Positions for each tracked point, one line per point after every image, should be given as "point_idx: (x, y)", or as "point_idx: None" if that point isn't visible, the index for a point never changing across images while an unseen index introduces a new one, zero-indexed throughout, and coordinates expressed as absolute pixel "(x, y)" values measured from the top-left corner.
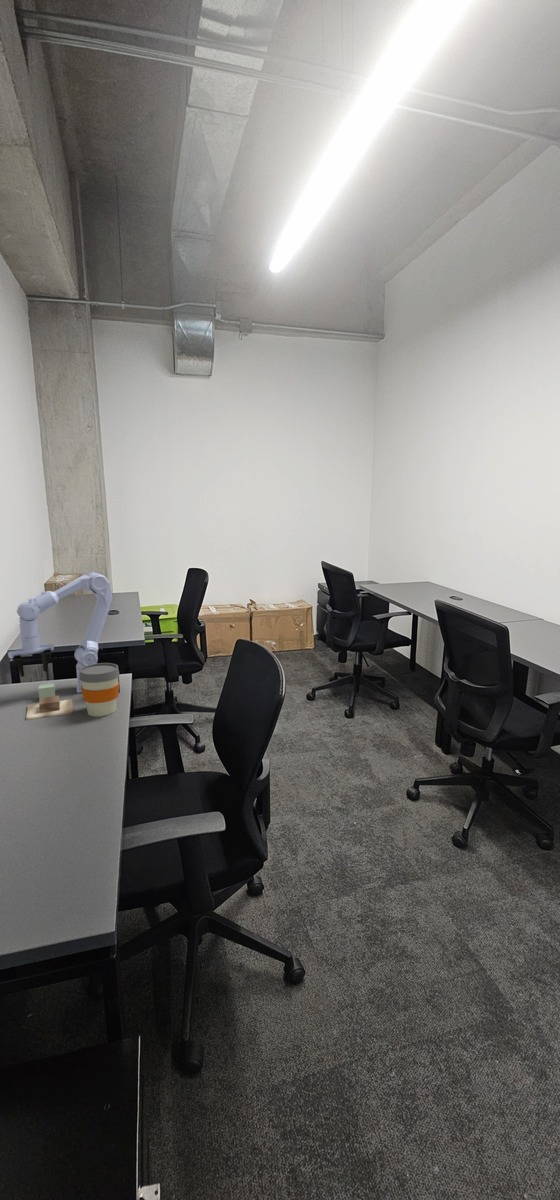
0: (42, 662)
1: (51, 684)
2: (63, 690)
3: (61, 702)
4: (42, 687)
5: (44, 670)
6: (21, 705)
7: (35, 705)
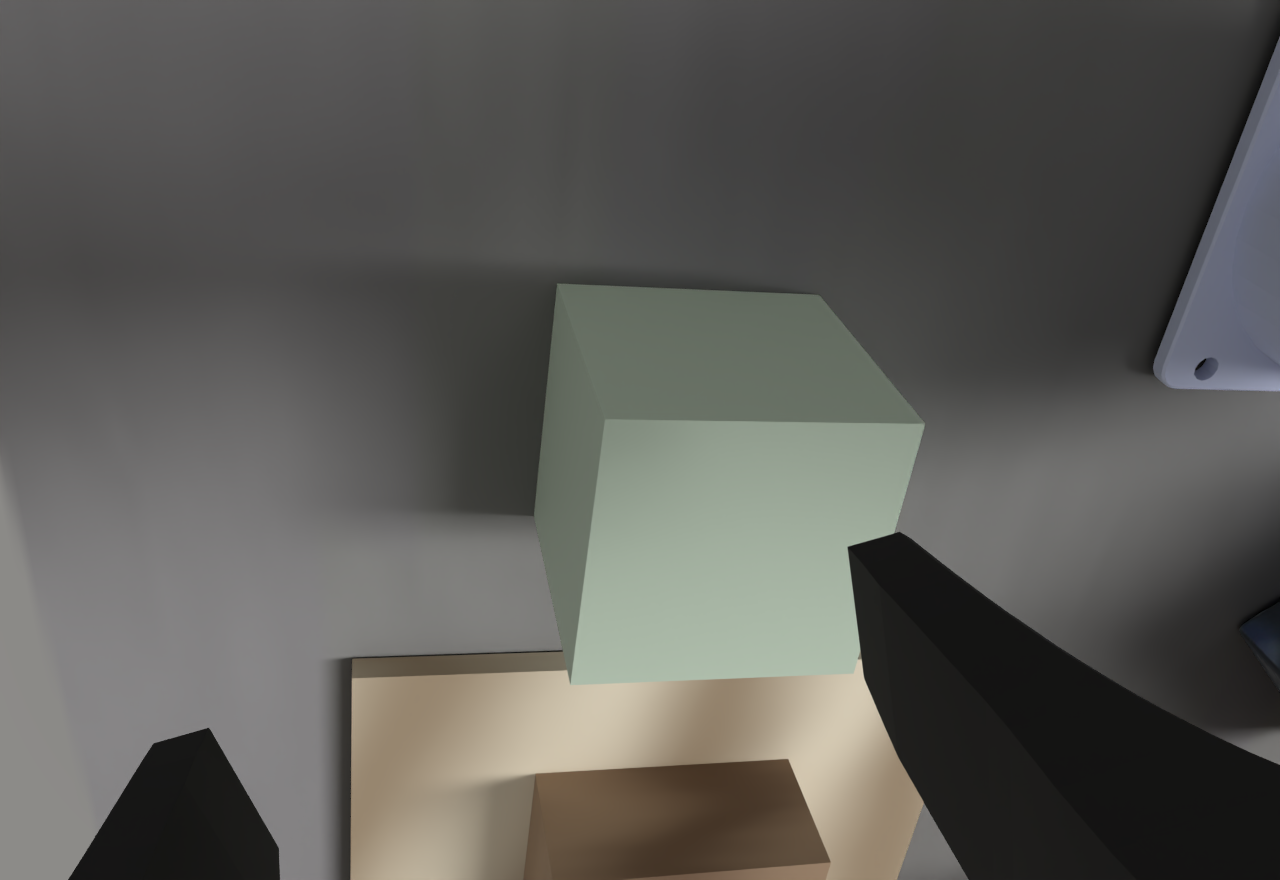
0: (976, 689)
1: (845, 533)
2: (1017, 90)
3: (821, 722)
4: (652, 645)
5: (871, 664)
6: (237, 563)
7: (467, 720)
